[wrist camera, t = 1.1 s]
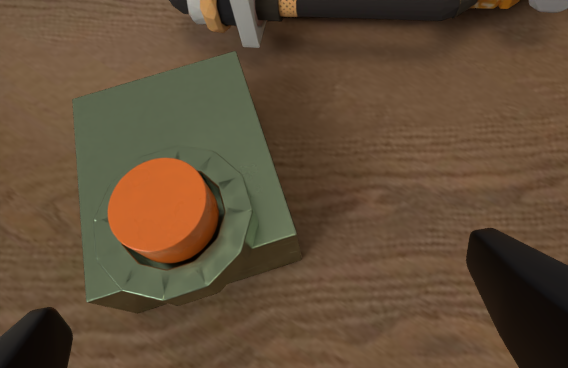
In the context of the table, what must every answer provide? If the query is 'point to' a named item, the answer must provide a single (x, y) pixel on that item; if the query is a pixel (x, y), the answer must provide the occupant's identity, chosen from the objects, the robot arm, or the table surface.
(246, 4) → the device
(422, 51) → the table surface
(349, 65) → the table surface
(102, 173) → the green block
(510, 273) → the robot arm
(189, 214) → the orange button
